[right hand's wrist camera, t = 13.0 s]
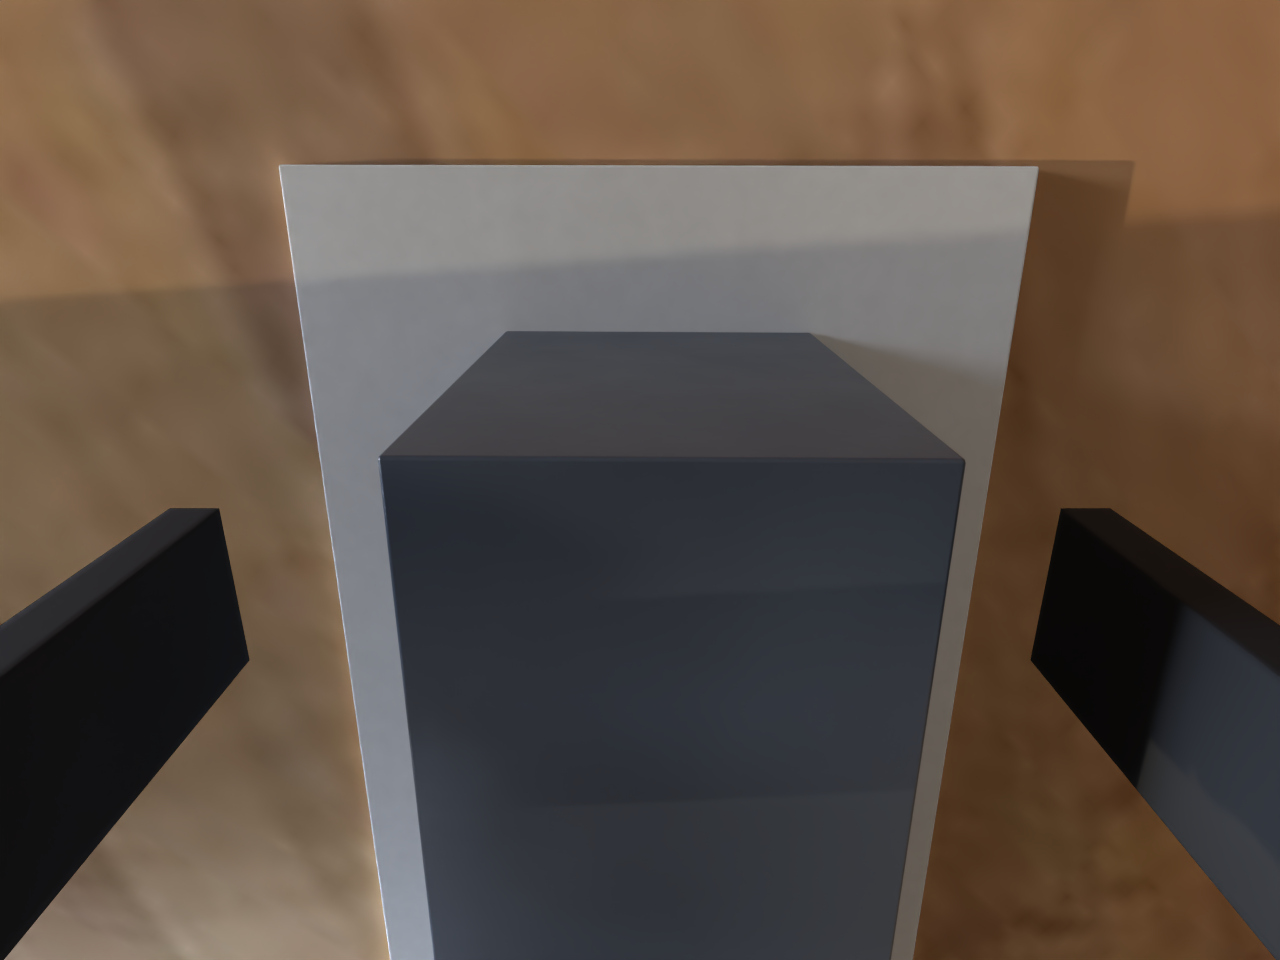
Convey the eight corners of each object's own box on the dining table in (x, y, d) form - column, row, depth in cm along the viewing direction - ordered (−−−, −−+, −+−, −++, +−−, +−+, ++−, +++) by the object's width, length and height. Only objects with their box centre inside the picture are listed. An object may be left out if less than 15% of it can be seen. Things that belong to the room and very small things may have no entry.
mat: (442, 1299, 27) (439, 1315, 27) (286, 165, 15) (277, 164, 15) (853, 1302, 27) (856, 1317, 27) (1030, 166, 15) (1040, 166, 15)
